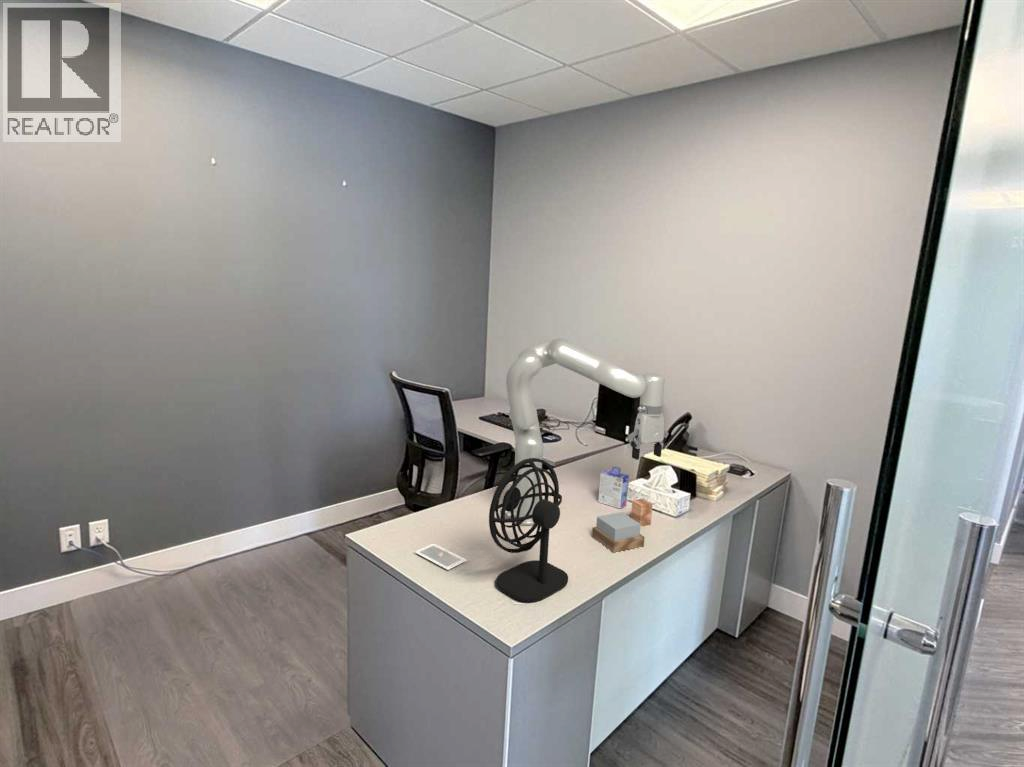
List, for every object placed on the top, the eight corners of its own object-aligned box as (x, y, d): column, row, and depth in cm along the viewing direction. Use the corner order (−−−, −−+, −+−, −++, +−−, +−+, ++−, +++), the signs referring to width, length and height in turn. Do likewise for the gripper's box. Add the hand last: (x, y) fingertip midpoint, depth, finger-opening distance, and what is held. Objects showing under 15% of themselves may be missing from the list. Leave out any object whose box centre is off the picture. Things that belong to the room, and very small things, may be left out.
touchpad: (447, 573, 154) (448, 566, 154) (414, 555, 164) (414, 548, 163) (467, 563, 160) (467, 556, 160) (433, 546, 170) (433, 540, 169)
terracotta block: (639, 527, 189) (641, 505, 188) (630, 521, 194) (632, 500, 192) (650, 524, 191) (652, 503, 190) (641, 519, 196) (643, 498, 194)
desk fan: (539, 554, 167) (546, 445, 160) (585, 577, 154) (593, 460, 148) (473, 585, 148) (477, 463, 142) (518, 614, 136) (524, 482, 129)
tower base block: (613, 555, 169) (614, 543, 169) (591, 538, 180) (592, 527, 179) (643, 548, 174) (644, 537, 174) (621, 532, 185) (621, 522, 184)
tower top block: (614, 541, 170) (615, 529, 169) (596, 528, 179) (597, 516, 178) (639, 535, 174) (640, 524, 174) (620, 523, 183) (621, 512, 182)
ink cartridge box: (627, 505, 208) (630, 469, 205) (620, 509, 204) (623, 473, 201) (604, 498, 214) (606, 463, 211) (597, 502, 209) (600, 466, 207)
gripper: (637, 413, 178) (633, 463, 181) (677, 410, 186) (672, 457, 189) (623, 408, 185) (619, 456, 188) (662, 405, 193) (658, 451, 196)
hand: (646, 457), depth 188 cm, fingers open, 9 cm apart
